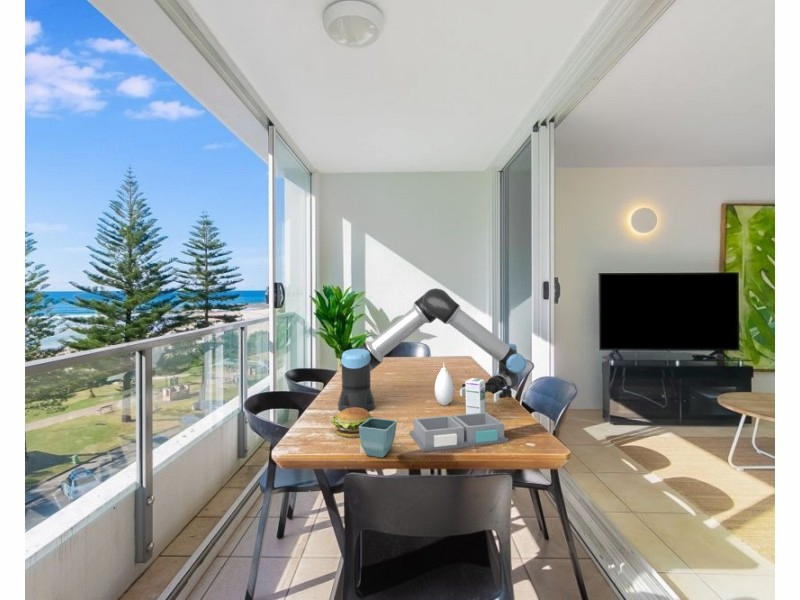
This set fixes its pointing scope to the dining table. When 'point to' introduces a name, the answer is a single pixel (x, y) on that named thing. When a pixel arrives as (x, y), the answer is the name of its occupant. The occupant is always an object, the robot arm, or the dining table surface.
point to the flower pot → (377, 436)
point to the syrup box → (475, 396)
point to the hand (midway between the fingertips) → (477, 395)
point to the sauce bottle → (444, 387)
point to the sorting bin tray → (457, 431)
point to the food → (350, 421)
